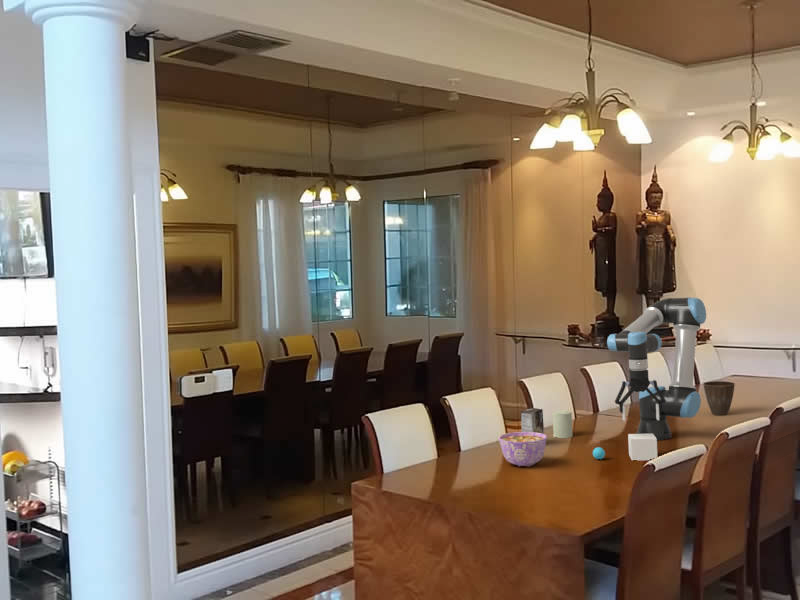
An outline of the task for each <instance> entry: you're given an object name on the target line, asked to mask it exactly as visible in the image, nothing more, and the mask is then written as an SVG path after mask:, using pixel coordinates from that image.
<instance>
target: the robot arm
mask: <svg viewBox="0 0 800 600" xmlns="http://www.w3.org/2000/svg"><path fill="white" fill-rule="evenodd" d="M706 310H707V309H706V306H705V304H704V302H703V300H702V299H700V298H698V297H673V298H671V297H668V298H664V299H661V300H658V301H656V302H653V303H652V304H651V305H649V306H648V307H647V308H646V309H644V311H643V314H641V315H640V316H639V317H638V318H636V320H634V321H632V322H631V323H630V324H629V325H628V326H627V327H625V328H624V329H623V330H622V331H620V332H619V333H612V334H608V335H609V336H607V340H606V344H607V348H608V349H609V351H611V352H617V353H618V352H626V353H627V352H628V369H629V373H628V374H629V381H625V380H623V381H621V387H620V389H619V391H618V393H617V396H616V398H615V400H614V403H615V404H616V405H619V412H620V413H621V414H622V421H623V422H626V407H625V404H624V403H626V401H627V400H628V399H629V398H630V397H631V395H632V394H634V392H636V393H638V392H639V393H638V400H639V403H638V404H639V418H640V419H639V424H638V427H637V431H636V434H654V436H655V437H656V439H657V441H664V439H666V440H669V439H668V438H670V439H672V431H671V428H670V425H669V422H668V418H667V417H675V418H683V419H685V418H693V417H695V416H696V415H697V414H698V413H699V410H700V407H701V402H702V401H701V400H702V399H701V395H700V393H699V392H697V387H696V386H695V385H694V371H695V357H696V356H695V355H696V345H697V344H696V343H697V342H696V341H697V339H696V338H697V333H698V331H699V330H700V329H701V325H703V324H704V323H705V322H706V320H707V311H706ZM663 324H673V326H672V327H673V328H674V329H675V331H676V332H675V344H674V345H675V346H674V358H673V361H674V362H673V372H672V373H673V375H672V382H671V383H670V384H669V385H668V389H667V388H666V386H664V385H658V383H657V382H658V381H657V380H656V379H653V380H650V379H649V370H648V368H649V361H648V360H649V359H648V353H655V352H657V351H659V350H660V348H661V347H662V344H663V341H662V339H661V337H660V336H659V335H658V334H656V333H649V332H650V331H651V330H652V329H654V328H655V327H659V326H660V325H663ZM650 385H651V386H650ZM628 386H630V388H629V390H628V391H627V392H626V394H625V395H624V396H623V397H622V395H623V393H624V392H625V390H626V388H627V387H628ZM621 397H622V398H621Z"/></svg>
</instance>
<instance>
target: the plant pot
mask: <svg viewBox="0 0 800 600" xmlns="http://www.w3.org/2000/svg"><path fill="white" fill-rule="evenodd" d="M735 385H736V384H735V382H732V381H720V380H719V381H715V380H714V381H706V382H703V389H704V394H705V398H706V401H707V405H708V408H709V410H710V412H711V414H712V415H714V416H722V417H723V416H727V415H729V412H730V410H731V405H732V402H733V398H734V391H735V387H736V386H735Z"/></svg>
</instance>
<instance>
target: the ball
mask: <svg viewBox="0 0 800 600" xmlns="http://www.w3.org/2000/svg"><path fill="white" fill-rule="evenodd" d="M605 455H606V452H605V450H604V449H603V448H602V447H601V446H600V447H595V448H594V449H593V450H592V456H593V458H594V459H596V460H598V459H600V460H602V459H604V458H605Z"/></svg>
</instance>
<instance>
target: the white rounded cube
mask: <svg viewBox="0 0 800 600" xmlns="http://www.w3.org/2000/svg"><path fill="white" fill-rule="evenodd" d="M627 441H628V442H627V443H628V455H629V457H630V459H631V461H633V460H637V461H651V460H650V459H653V458H656V457H658V440H657V439H656V437H655V436H654V434H637V433H628V434H627Z"/></svg>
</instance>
